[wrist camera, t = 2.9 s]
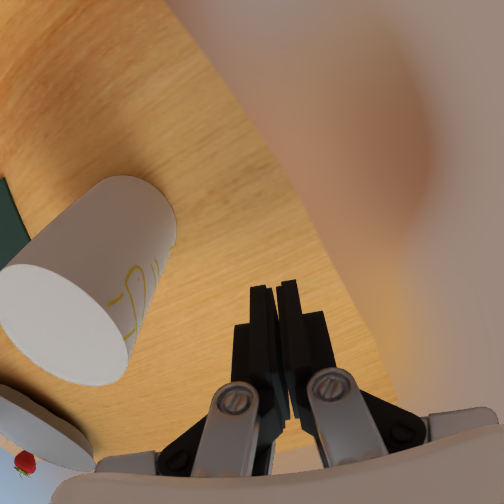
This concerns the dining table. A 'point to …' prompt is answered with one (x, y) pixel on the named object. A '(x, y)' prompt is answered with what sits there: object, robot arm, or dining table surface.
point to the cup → (89, 281)
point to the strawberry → (25, 463)
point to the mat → (10, 227)
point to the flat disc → (43, 432)
